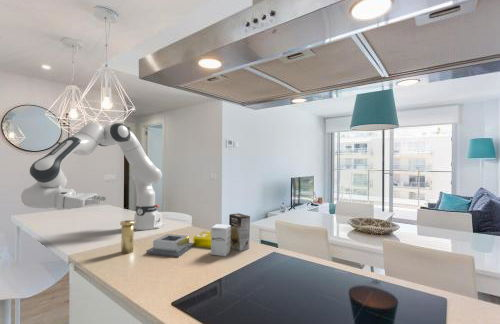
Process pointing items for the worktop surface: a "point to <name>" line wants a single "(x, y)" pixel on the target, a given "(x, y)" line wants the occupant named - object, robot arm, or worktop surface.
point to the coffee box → (239, 231)
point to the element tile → (203, 239)
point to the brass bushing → (127, 236)
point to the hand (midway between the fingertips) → (102, 200)
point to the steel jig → (171, 245)
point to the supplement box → (220, 239)
